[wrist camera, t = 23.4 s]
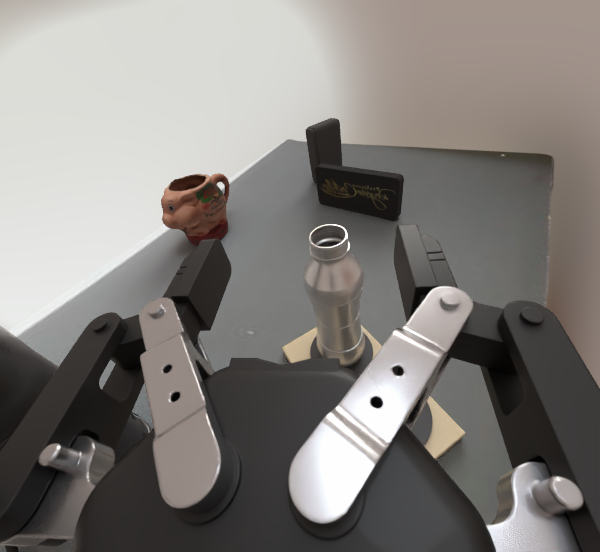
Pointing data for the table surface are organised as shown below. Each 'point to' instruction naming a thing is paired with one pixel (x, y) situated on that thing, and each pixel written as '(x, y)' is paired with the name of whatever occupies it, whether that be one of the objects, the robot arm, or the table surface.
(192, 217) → the animal head mug
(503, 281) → the table surface
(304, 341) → the hob
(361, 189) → the nameplate
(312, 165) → the dark grey upright block
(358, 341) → the silver bottle
